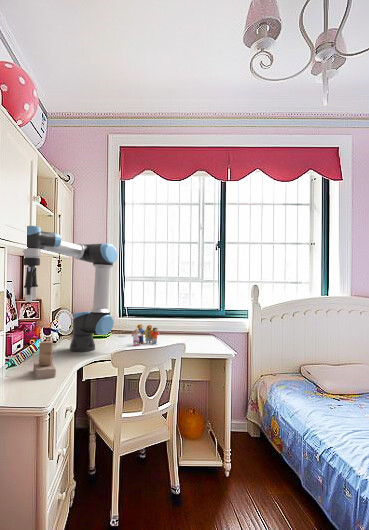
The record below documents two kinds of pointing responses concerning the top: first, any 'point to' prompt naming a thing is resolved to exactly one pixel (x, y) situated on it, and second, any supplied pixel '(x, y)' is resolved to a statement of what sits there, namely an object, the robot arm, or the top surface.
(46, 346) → the walnut block
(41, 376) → the brick
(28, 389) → the top surface
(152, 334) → the doll family
